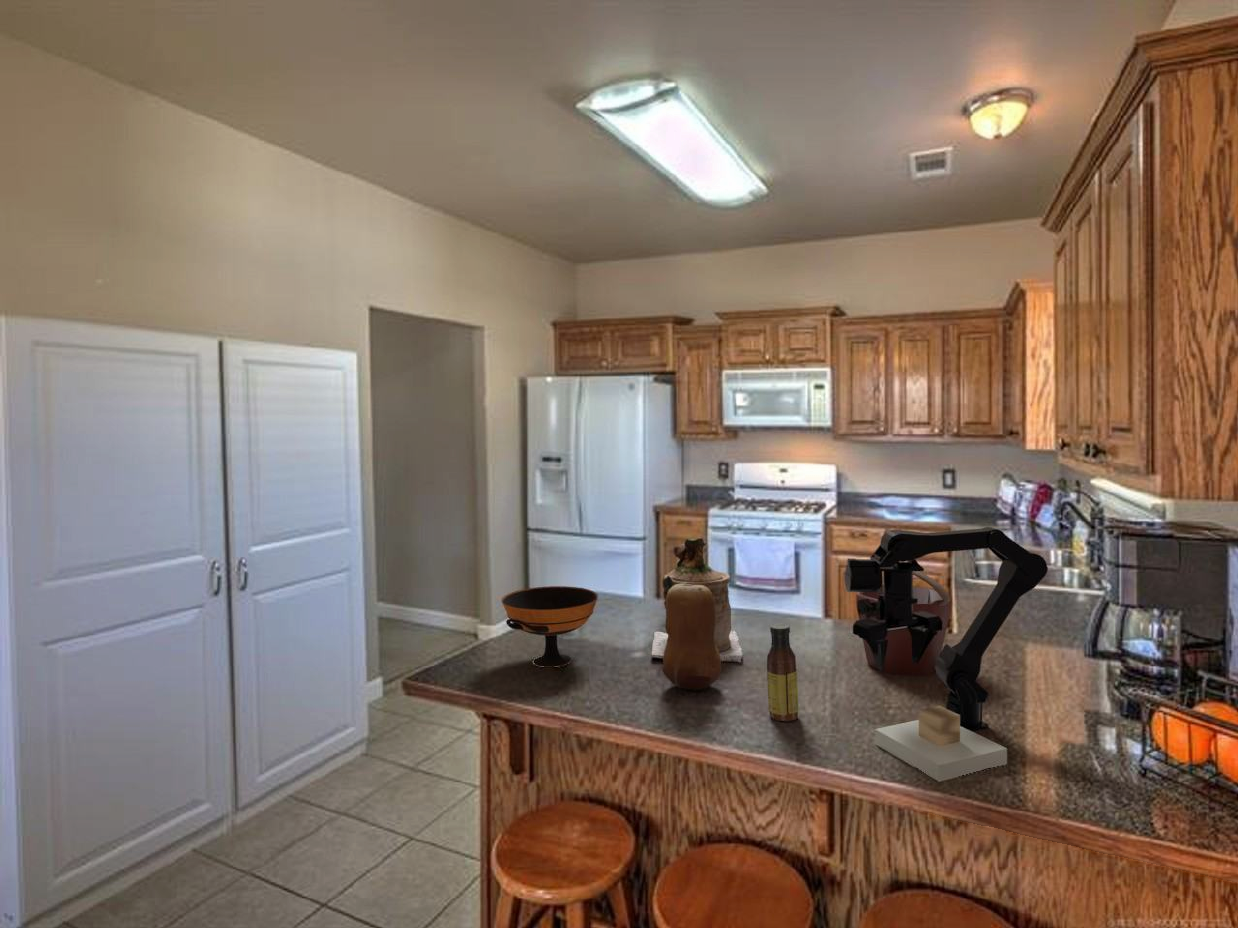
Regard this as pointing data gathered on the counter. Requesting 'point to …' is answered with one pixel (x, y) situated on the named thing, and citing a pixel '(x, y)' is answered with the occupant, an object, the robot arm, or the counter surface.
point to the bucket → (900, 640)
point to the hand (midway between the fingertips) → (897, 666)
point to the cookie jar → (699, 573)
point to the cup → (549, 615)
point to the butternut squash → (690, 637)
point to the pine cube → (939, 725)
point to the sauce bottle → (782, 676)
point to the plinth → (940, 751)
